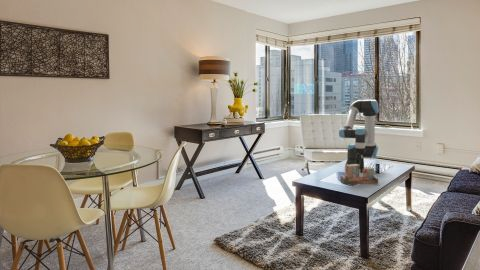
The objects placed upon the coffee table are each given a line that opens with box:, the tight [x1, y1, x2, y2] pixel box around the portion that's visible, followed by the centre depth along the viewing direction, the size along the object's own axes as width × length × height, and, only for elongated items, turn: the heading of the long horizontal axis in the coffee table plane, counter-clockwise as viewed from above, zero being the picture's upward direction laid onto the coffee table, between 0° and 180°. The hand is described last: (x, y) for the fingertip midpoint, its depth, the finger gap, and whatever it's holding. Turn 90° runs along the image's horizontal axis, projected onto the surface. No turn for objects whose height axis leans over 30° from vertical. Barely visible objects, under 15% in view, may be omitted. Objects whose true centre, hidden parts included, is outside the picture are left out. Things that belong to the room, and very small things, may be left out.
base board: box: [340, 174, 379, 185], centre depth 271 cm, size 12×26×4 cm, turn 85°
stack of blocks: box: [344, 164, 375, 181], centre depth 270 cm, size 21×6×12 cm, turn 99°
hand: (359, 175), depth 270 cm, fingers open, 10 cm apart
